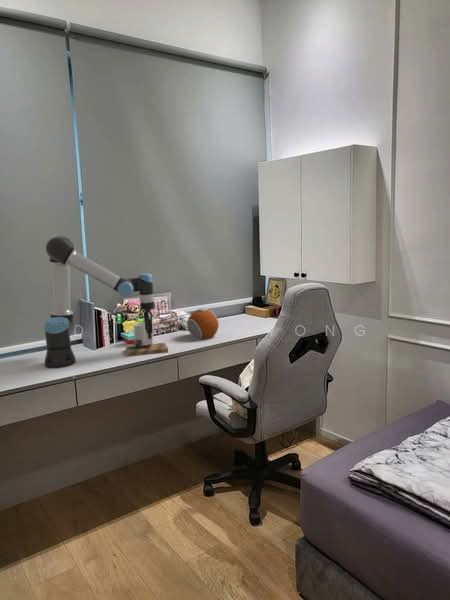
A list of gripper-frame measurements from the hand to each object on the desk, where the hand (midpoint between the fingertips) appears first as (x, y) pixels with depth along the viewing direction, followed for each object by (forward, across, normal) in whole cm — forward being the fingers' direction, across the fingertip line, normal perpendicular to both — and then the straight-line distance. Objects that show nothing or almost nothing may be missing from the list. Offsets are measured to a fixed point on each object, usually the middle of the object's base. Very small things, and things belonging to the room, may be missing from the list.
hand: (149, 343), depth 265 cm
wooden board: (+4, -1, +2) cm, 4 cm away
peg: (+2, 0, +6) cm, 6 cm away
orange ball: (+4, +16, -36) cm, 40 cm away
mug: (+4, +19, 0) cm, 19 cm away
